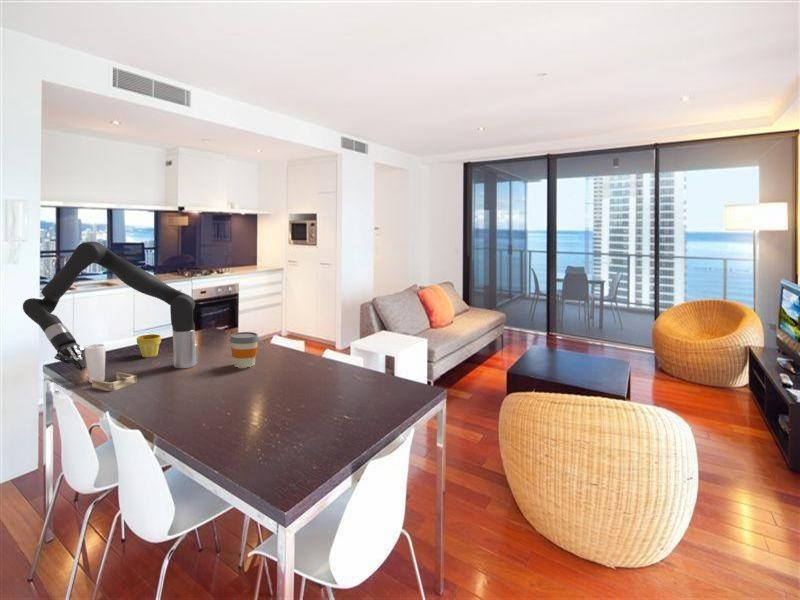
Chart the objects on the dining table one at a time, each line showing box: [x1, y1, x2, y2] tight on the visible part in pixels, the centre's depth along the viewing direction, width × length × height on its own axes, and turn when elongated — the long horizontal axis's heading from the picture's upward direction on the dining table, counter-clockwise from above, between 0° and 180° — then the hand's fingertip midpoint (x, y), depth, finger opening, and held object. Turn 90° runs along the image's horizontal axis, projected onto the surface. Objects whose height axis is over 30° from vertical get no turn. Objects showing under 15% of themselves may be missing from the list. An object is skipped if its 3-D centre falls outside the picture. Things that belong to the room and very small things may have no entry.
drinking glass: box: [84, 343, 106, 384], centre depth 176 cm, size 7×7×15 cm
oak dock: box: [91, 371, 138, 392], centre depth 174 cm, size 11×10×4 cm
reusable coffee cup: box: [229, 331, 259, 369], centre depth 205 cm, size 12×13×15 cm
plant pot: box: [136, 333, 162, 358], centre depth 214 cm, size 10×10×10 cm
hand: (83, 368), depth 179 cm, fingers closed
